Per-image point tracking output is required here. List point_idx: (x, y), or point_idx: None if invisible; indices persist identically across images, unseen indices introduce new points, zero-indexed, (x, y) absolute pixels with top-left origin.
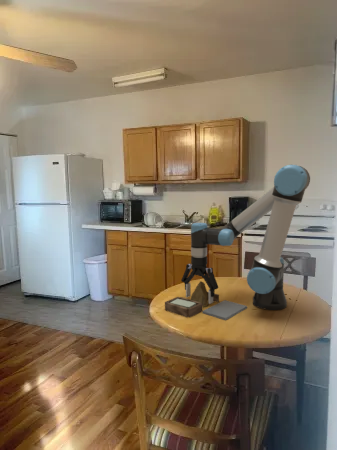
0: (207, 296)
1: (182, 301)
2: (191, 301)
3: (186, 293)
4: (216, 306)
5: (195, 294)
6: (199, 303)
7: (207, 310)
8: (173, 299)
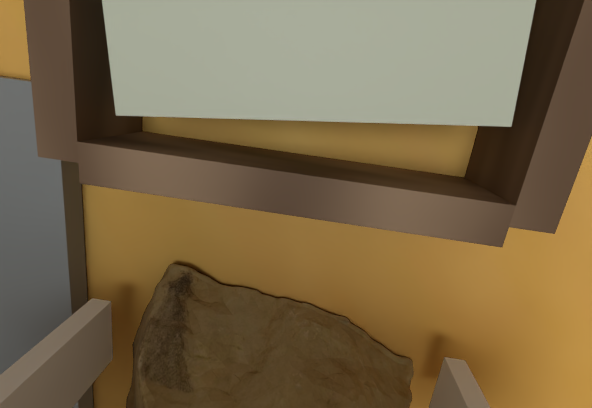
0: (127, 404)
1: (354, 42)
2: (240, 163)
3: (476, 403)
4: (32, 295)
5: (316, 406)
6: (80, 142)
7: (23, 137)
8: (579, 55)
